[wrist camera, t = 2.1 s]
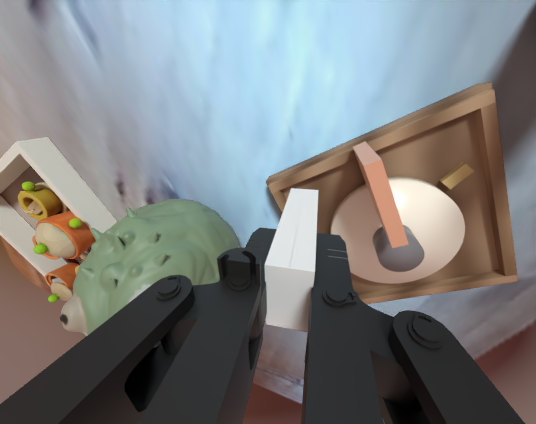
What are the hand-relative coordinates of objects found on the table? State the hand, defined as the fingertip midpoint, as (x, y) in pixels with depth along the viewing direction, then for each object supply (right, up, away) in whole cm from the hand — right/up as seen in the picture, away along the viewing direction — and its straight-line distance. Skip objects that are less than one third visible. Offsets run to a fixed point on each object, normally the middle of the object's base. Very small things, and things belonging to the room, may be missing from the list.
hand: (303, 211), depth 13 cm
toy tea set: (-39, -6, +31) cm, 50 cm away
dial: (+11, 0, +12) cm, 17 cm away
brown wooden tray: (+13, -1, +15) cm, 20 cm away
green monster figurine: (-11, -3, +23) cm, 25 cm away
